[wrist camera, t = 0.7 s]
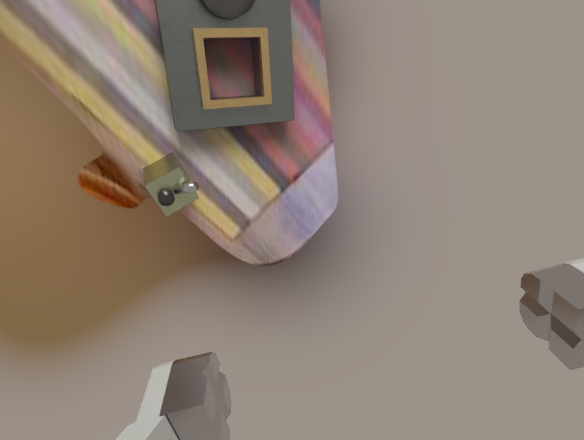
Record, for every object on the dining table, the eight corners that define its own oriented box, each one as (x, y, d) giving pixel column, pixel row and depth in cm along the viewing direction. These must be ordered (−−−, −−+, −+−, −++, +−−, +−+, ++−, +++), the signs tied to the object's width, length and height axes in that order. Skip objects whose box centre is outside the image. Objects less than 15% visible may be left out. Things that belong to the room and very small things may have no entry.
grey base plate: (141, -81, 40) (141, -97, 36) (278, -69, 45) (291, -83, 42) (174, 128, 49) (178, 133, 45) (286, 118, 54) (298, 121, 50)
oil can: (143, 168, 49) (145, 192, 39) (177, 149, 50) (188, 168, 40) (161, 195, 51) (168, 224, 41) (194, 176, 52) (208, 201, 42)
